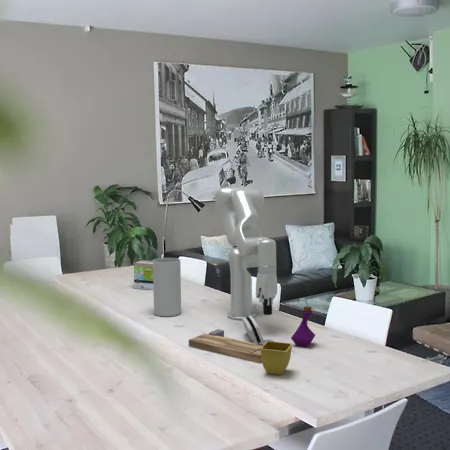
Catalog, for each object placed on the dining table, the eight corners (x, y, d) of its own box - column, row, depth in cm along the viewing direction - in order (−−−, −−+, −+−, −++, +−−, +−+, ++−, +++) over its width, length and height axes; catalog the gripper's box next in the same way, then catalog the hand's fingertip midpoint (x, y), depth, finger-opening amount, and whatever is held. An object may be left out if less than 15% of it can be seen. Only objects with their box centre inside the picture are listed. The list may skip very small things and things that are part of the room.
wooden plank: (204, 339, 225) (204, 332, 225) (274, 355, 207) (274, 347, 206) (188, 346, 217) (188, 339, 217) (260, 363, 199) (260, 355, 198)
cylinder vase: (149, 315, 261) (147, 261, 258) (162, 309, 272) (161, 257, 270) (173, 318, 256) (172, 263, 253) (185, 311, 268) (184, 258, 265)
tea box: (133, 289, 316) (133, 262, 314) (141, 285, 325) (140, 259, 323) (158, 290, 311) (158, 263, 310) (166, 286, 321) (165, 260, 319)
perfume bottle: (315, 343, 220) (315, 297, 218) (309, 349, 213) (310, 301, 211) (296, 340, 223) (297, 295, 221) (290, 346, 216) (290, 299, 214)
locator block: (218, 336, 229) (217, 329, 229) (224, 337, 227) (224, 330, 227) (208, 340, 224) (208, 332, 224) (215, 341, 222) (214, 334, 222)
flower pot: (292, 369, 193) (292, 343, 192) (286, 378, 185) (286, 351, 184) (267, 366, 196) (267, 340, 195) (260, 375, 188) (260, 348, 187)
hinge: (268, 345, 218) (259, 321, 216) (257, 349, 217) (248, 326, 216) (258, 332, 234) (250, 310, 233) (248, 336, 234) (239, 314, 232)
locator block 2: (267, 347, 216) (267, 339, 215) (273, 348, 214) (273, 340, 214) (258, 351, 211) (258, 343, 210) (265, 352, 209) (265, 344, 209)
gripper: (268, 266, 239) (269, 309, 241) (249, 271, 227) (249, 317, 229) (284, 267, 235) (284, 311, 236) (265, 273, 223) (265, 319, 224)
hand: (267, 314), depth 233 cm, fingers closed
